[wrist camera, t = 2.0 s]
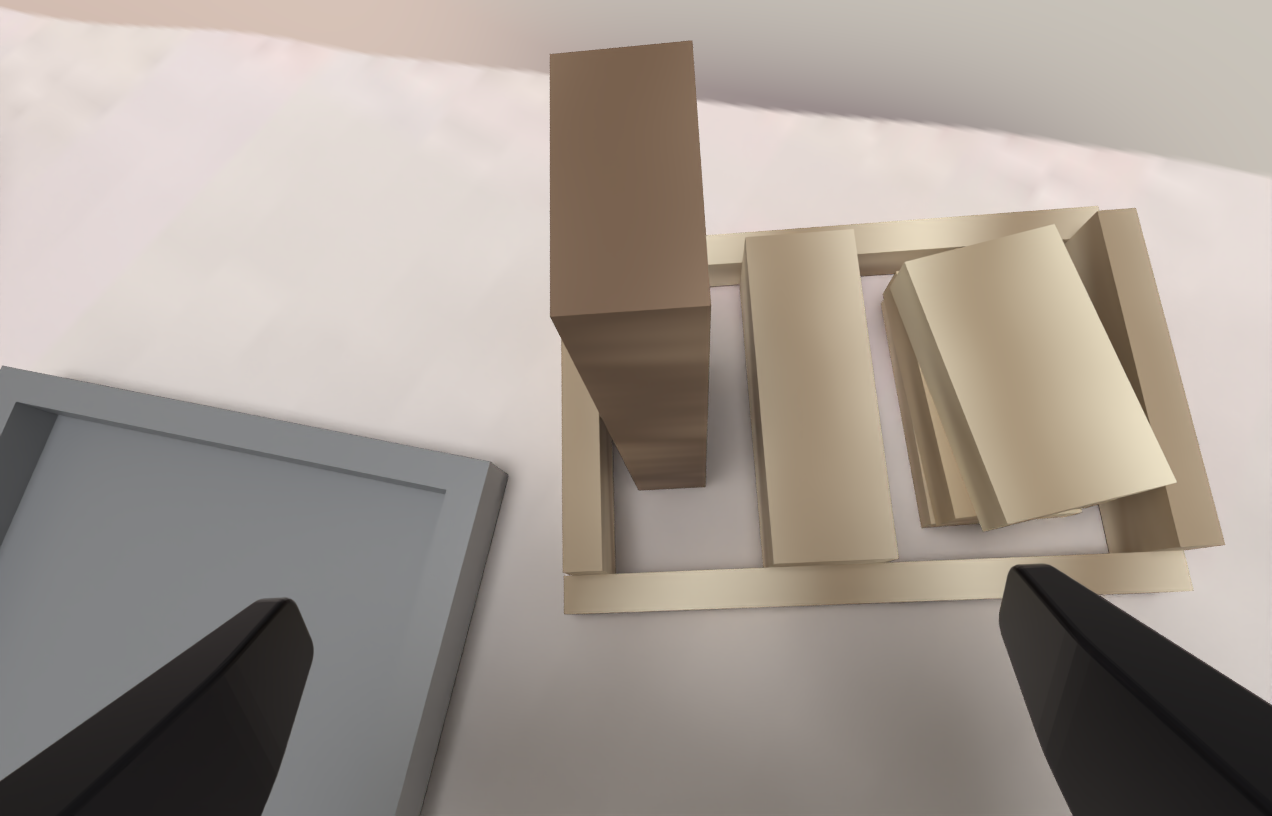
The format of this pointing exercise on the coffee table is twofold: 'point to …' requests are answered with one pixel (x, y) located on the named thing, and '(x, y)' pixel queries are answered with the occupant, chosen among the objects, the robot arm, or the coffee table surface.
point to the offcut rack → (851, 431)
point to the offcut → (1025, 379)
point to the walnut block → (633, 251)
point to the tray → (235, 574)
